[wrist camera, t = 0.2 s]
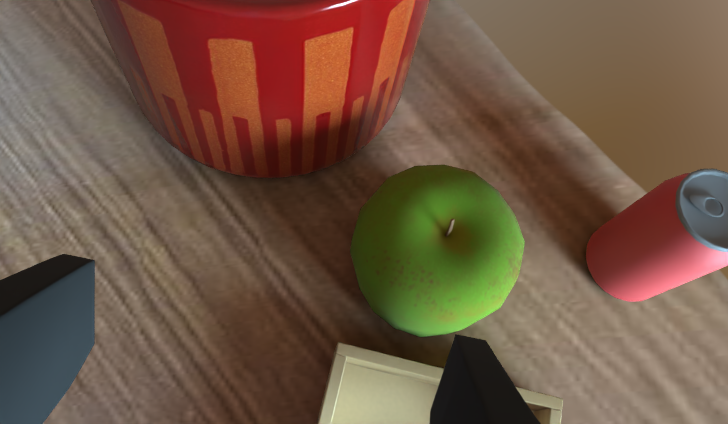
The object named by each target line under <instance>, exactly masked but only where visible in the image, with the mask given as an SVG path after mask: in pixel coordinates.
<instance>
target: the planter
mask: <svg viewBox="0 0 728 424" xmlns="http://www.w3.org/2000/svg"><path fill="white" fill-rule="evenodd" d="M90 1H91V3H92V5H93V8H94V10H95V12H96V14H97V17H98V19H99V21H100V23H101V25H102V28H103V30H104V32H105V34H106V36H107V38H108V41H109V43H110V45H111V47H112V49H113V52H114V54H115V56H116V58H117V60H118V63H119V65H120V67H121V69H122V71H123V73H124V76H125V78H126V80H127V82H128V84H129V86H130V89H131V91H132V93H133V95H134V97H135V99H136V101H137V103H138V105H139V107H140V109H141V111H142V113H143V114H144V116H145V117H146V118H147V120H148V121H149V122H150V124H151V125H152V126H153V128H154V129H155V130H156V131H157V132H158V133H159V134H160V135H161V136H162V137H163V138H164V139H165V140H166V141H167V142H168V143H170V144H171V145H172V146H173V147H175V148H176V149H178V150H179V151H181V152H182V153H184V154H185V155H186V156H188V157H189V158H191V159H193V160H196V161H198V162H200V163H202V164H204V165H206V166H208V167H210V168H214V169H217V170H220V171H224V172H227V173H230V174H234V175H240V176H247V177H254V178H285V177H292V176H299V175H305V174H309V173H312V172H315V171H319V170H322V169H326V168H328V167H330V166H332V165H334V164H337V163H339V162H341V161H343V160H345V159H347V158H348V157H350V156H351V155H353V154H354V153H356V152H358V151H359V150H361V149H362V148H363V147H365V146H366V145H367V144H368V143H369V142H370V141H371V140H372V139H373V138H374V137H375V136H376V135H377V134H378V133H379V132H380V131H381V129H382V128H383V127H384V126H385V124H386V123H387V122H388V120H389V119H390V118H391V116H392V114H393V112H394V110H395V108H396V106H397V104H398V102H399V100H400V97H401V93H402V90H403V87H404V84H405V81H406V77H407V74H408V71H409V68H410V65H411V61H412V58H413V55H414V51H415V48H416V45H417V42H418V38H419V35H420V32H421V29H422V25H423V22H424V19H425V15H426V12H427V9H428V5H429V2H430V0H90Z"/></svg>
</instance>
